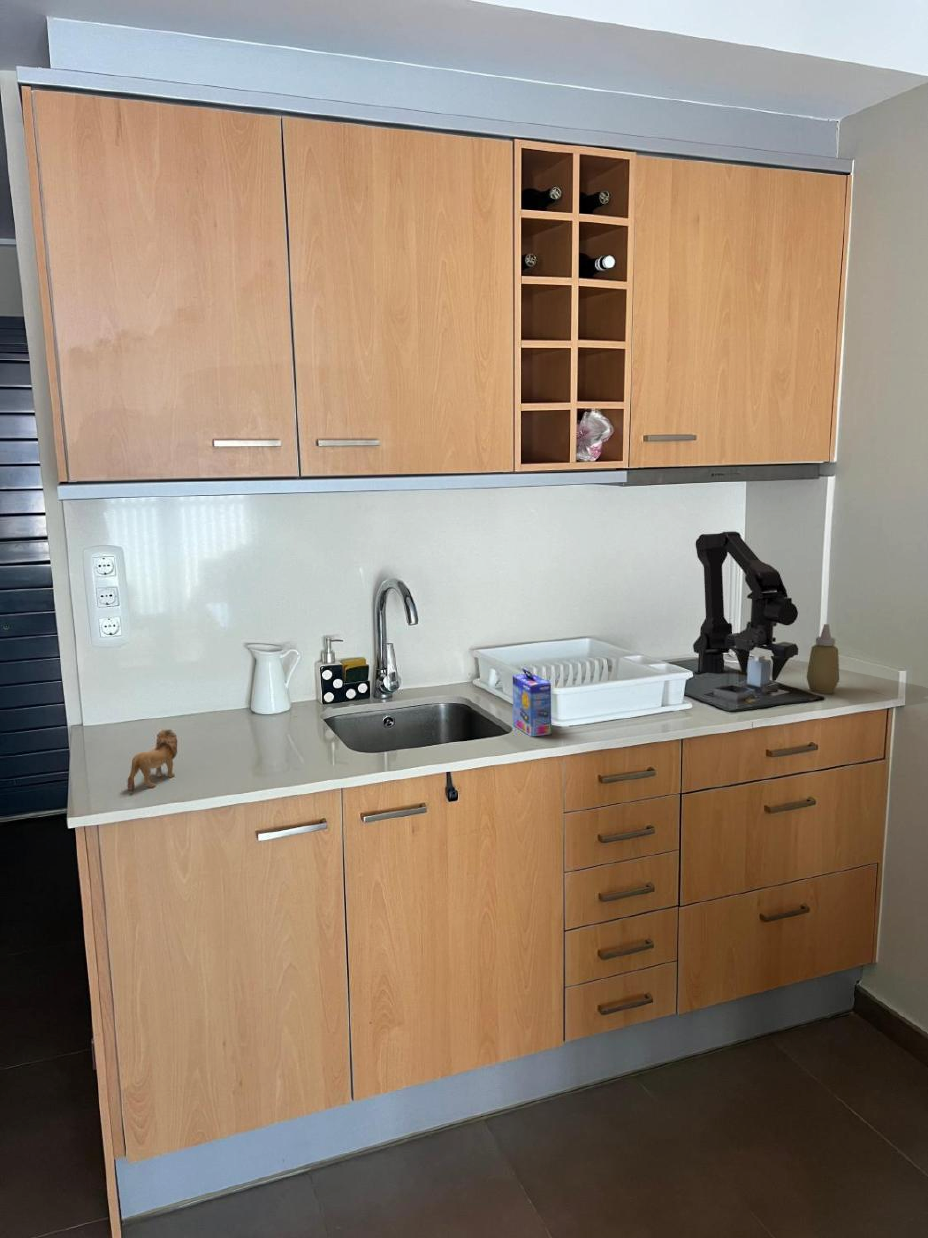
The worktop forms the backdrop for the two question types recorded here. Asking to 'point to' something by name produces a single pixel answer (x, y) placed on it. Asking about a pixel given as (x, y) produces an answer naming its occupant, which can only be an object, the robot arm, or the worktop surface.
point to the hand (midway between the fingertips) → (758, 677)
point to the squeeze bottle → (823, 664)
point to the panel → (745, 692)
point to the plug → (759, 671)
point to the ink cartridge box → (532, 704)
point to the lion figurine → (155, 758)
